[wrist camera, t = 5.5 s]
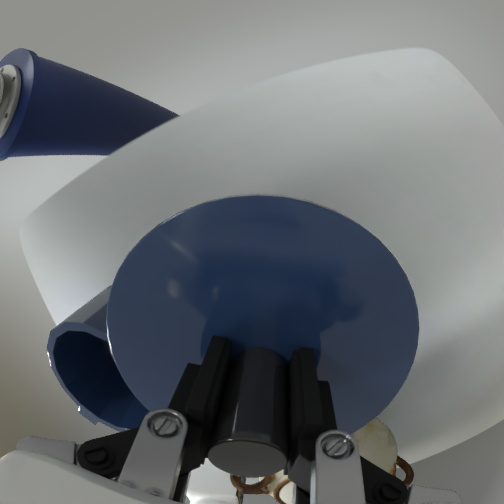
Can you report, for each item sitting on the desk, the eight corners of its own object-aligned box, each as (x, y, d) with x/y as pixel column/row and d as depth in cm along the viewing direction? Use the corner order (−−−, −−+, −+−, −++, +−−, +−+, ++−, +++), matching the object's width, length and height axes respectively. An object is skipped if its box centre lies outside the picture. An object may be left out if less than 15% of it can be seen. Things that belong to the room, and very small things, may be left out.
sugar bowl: (237, 449, 31) (219, 542, 17) (244, 372, 27) (217, 501, 13) (375, 452, 30) (392, 536, 16) (418, 378, 26) (465, 479, 11)
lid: (87, 351, 13) (30, 416, 8) (222, 119, 9) (161, 67, 4) (279, 462, 14) (275, 535, 9) (456, 320, 11) (519, 391, 5)
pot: (77, 347, 30) (39, 385, 21) (128, 235, 25) (70, 263, 16) (157, 407, 31) (132, 455, 22) (237, 317, 26) (218, 377, 17)
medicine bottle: (246, 478, 34) (236, 539, 22) (202, 473, 35) (186, 531, 23) (243, 457, 32) (231, 527, 21) (194, 452, 33) (173, 517, 21)
